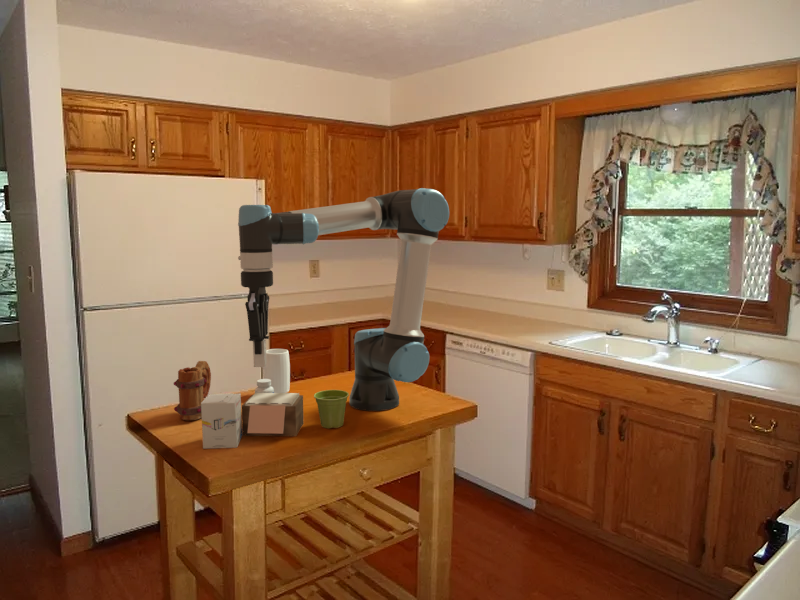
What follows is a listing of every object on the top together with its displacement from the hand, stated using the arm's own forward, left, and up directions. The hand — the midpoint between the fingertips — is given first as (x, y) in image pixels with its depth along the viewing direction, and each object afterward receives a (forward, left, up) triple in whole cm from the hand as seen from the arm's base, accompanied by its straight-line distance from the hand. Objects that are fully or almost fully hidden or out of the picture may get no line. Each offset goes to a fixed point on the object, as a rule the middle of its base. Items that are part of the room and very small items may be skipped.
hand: (260, 366), depth 150 cm
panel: (0, -5, -15) cm, 16 cm away
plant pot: (-15, -16, -20) cm, 30 cm away
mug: (+25, -23, -20) cm, 40 cm away
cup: (+7, -45, -20) cm, 50 cm away
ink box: (+11, -2, -20) cm, 23 cm away
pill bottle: (+6, -26, -20) cm, 34 cm away
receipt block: (0, -12, -20) cm, 23 cm away
